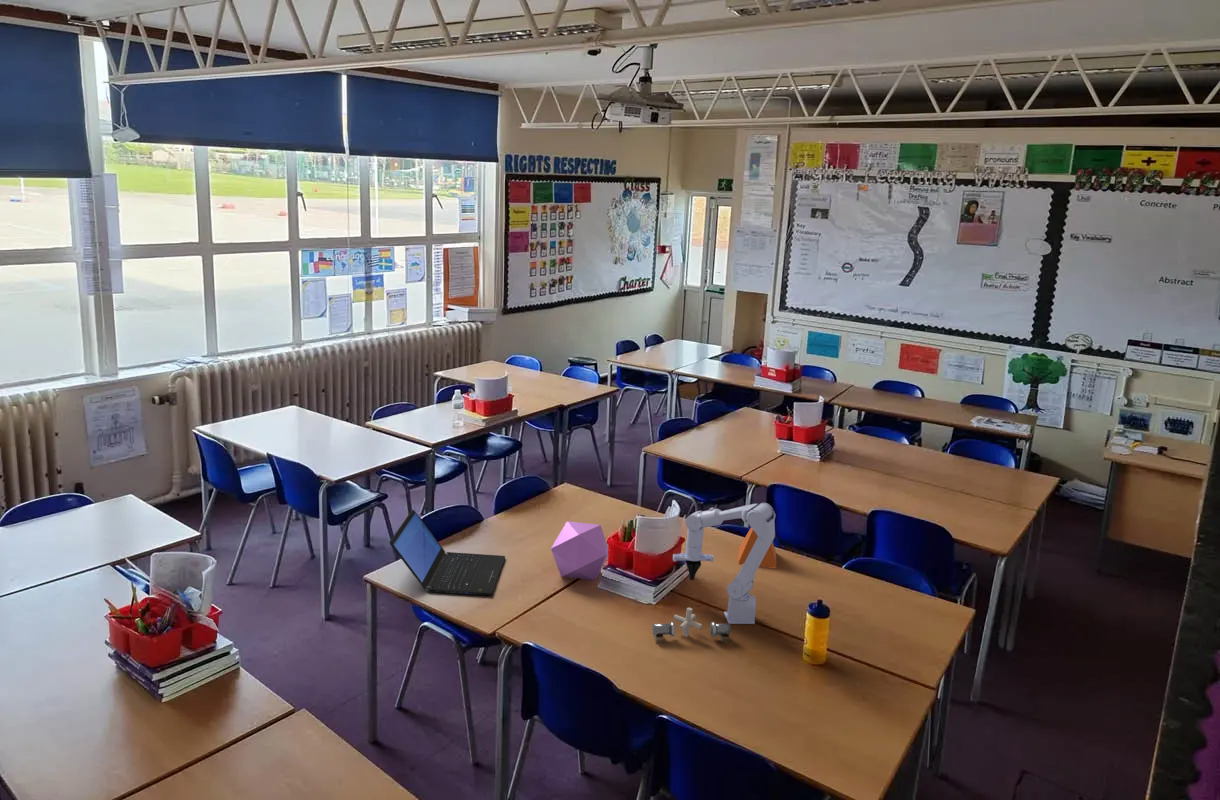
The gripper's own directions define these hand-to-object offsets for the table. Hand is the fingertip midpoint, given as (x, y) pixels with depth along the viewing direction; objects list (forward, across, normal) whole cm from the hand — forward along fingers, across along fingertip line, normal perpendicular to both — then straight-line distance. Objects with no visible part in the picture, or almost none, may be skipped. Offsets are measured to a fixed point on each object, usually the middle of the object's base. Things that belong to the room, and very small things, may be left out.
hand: (691, 578), depth 310 cm
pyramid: (+10, -36, -38) cm, 53 cm away
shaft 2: (+9, -6, +26) cm, 28 cm away
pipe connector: (+10, +6, +23) cm, 26 cm away
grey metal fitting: (+9, +14, +26) cm, 31 cm away
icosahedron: (+10, +39, -22) cm, 46 cm away
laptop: (+10, +88, -22) cm, 92 cm away
